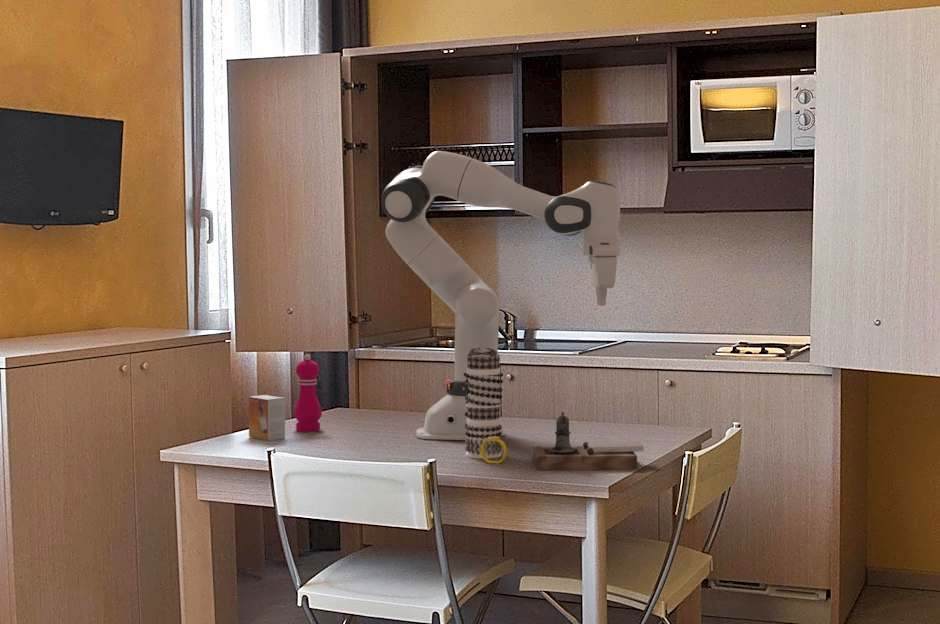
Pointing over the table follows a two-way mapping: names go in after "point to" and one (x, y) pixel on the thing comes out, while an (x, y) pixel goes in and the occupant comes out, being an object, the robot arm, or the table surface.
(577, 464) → the walnut holder
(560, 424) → the weathered chess piece
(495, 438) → the yellow faceted ring
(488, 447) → the decorative candle
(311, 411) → the pepper mill
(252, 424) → the small box
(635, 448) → the latch bar
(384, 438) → the table surface
